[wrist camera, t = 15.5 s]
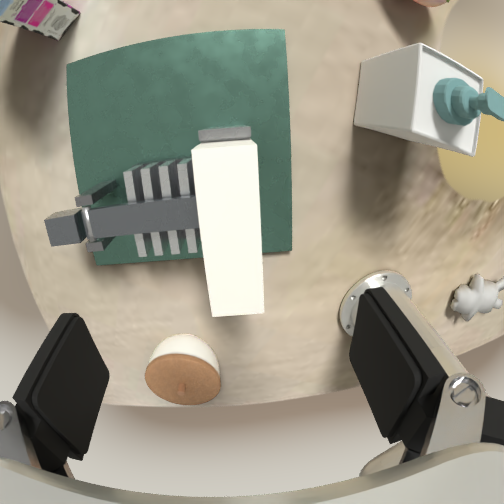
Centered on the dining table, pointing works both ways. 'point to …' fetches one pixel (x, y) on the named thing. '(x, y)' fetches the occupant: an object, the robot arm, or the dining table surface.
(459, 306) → the bunny figurine
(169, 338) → the lidded jar
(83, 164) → the green base metal fixture
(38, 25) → the candy bar box
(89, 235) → the grey capped bar
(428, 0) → the decorative fruit
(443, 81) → the soap bottle
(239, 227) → the plain white rectangular block
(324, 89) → the dining table surface
